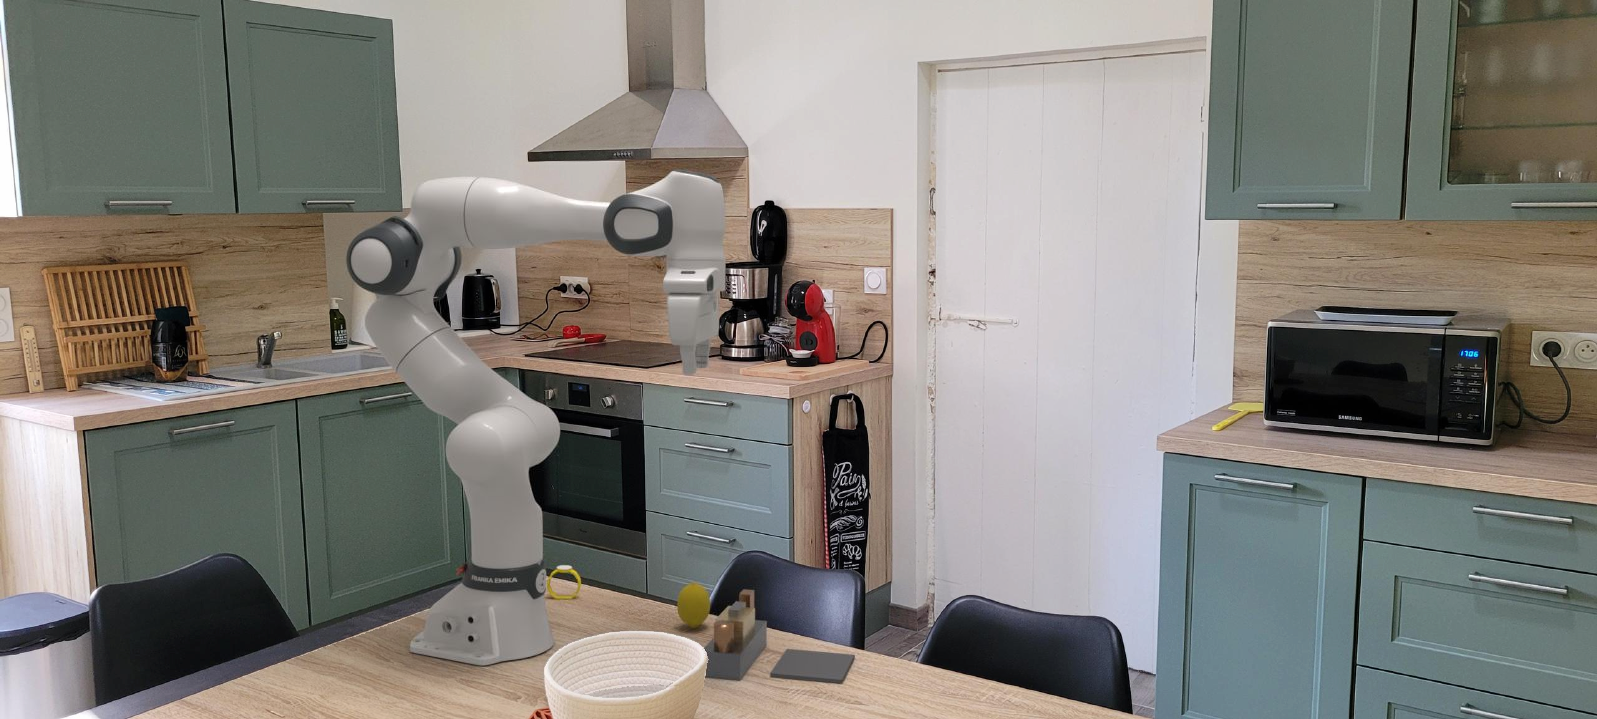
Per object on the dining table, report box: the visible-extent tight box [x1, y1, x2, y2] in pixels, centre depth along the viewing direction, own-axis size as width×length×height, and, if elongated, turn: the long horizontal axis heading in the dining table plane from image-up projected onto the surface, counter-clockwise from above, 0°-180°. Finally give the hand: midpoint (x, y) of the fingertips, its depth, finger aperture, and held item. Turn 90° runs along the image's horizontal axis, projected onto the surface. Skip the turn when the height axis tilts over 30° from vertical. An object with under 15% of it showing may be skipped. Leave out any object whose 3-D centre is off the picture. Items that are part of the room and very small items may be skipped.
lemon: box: [676, 581, 711, 629], centre depth 196 cm, size 6×6×8 cm
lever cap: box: [715, 600, 756, 644], centre depth 181 cm, size 4×7×4 cm, turn 167°
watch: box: [546, 564, 582, 600], centre depth 212 cm, size 6×3×6 cm, turn 92°
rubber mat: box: [769, 648, 856, 685], centre depth 179 cm, size 11×11×1 cm
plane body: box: [703, 588, 768, 681], centre depth 181 cm, size 6×16×9 cm, turn 167°
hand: (695, 370), depth 175 cm, fingers open, 8 cm apart
